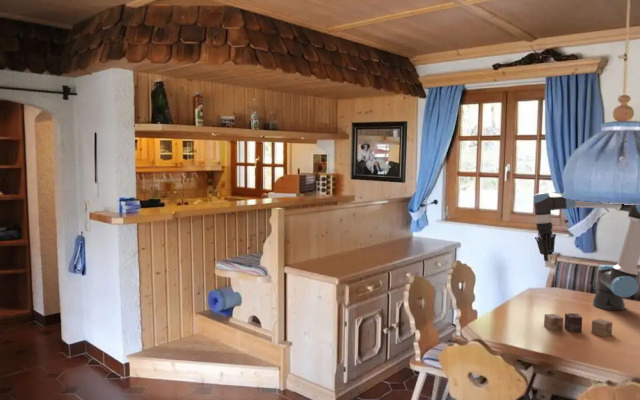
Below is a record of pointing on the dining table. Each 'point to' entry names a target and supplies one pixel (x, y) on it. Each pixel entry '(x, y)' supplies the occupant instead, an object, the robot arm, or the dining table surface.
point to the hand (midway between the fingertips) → (548, 266)
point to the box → (573, 322)
